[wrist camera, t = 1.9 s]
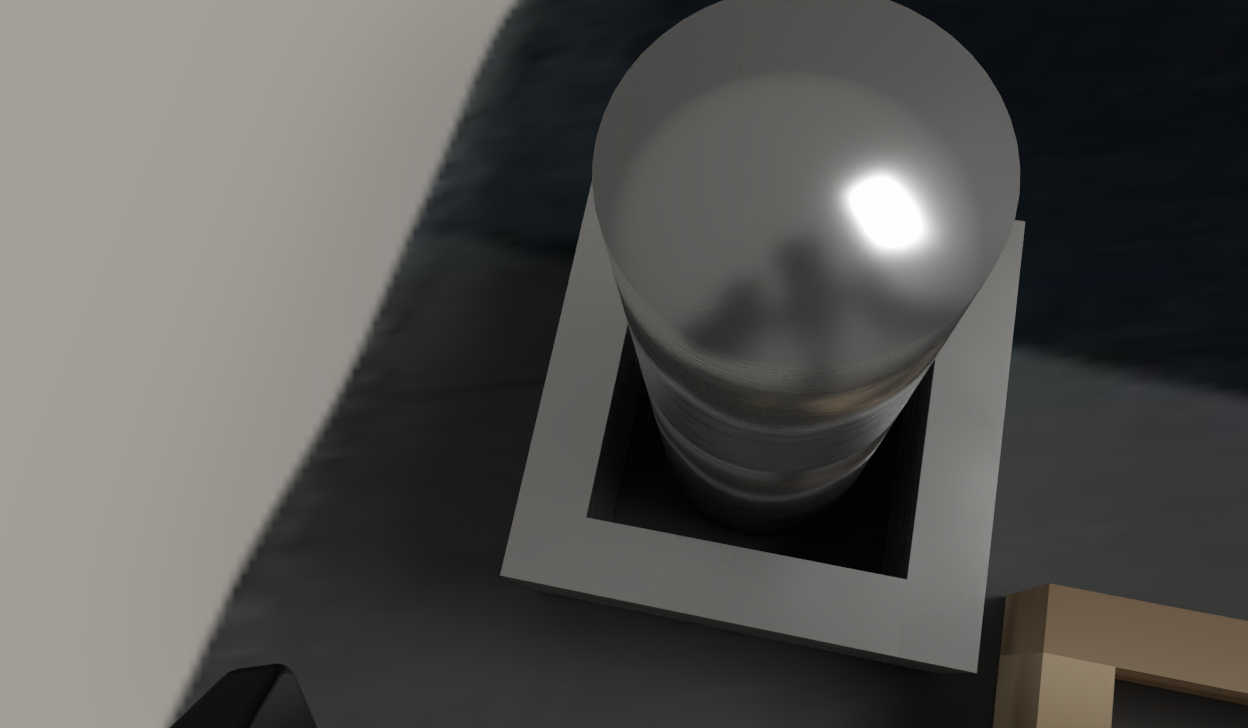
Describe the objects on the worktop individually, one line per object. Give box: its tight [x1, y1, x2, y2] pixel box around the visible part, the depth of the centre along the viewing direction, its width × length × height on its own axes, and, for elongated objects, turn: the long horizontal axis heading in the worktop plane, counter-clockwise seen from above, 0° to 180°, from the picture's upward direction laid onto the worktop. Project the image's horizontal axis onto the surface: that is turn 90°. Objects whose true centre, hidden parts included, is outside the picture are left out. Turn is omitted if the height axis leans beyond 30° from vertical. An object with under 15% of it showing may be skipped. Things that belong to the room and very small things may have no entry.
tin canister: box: [592, 0, 1020, 536], centre depth 14 cm, size 4×4×10 cm
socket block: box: [500, 183, 1025, 673], centre depth 17 cm, size 7×7×3 cm
